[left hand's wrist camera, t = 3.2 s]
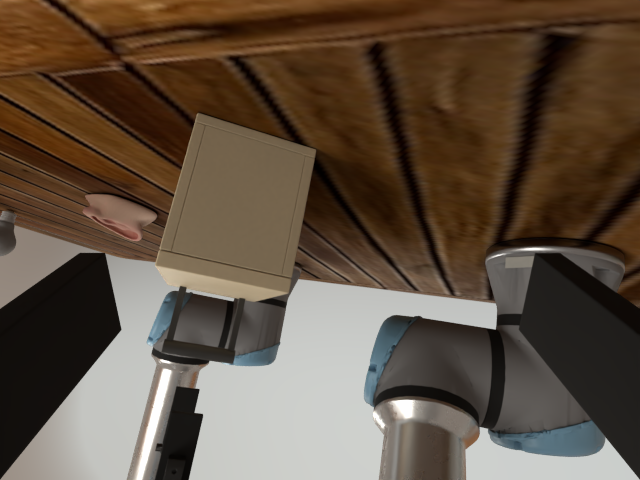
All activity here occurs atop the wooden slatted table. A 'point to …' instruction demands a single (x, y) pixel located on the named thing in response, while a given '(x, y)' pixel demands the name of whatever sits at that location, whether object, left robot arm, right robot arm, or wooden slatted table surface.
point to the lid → (213, 281)
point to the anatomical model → (119, 215)
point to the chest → (240, 198)
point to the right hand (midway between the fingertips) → (187, 398)
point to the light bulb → (7, 232)
